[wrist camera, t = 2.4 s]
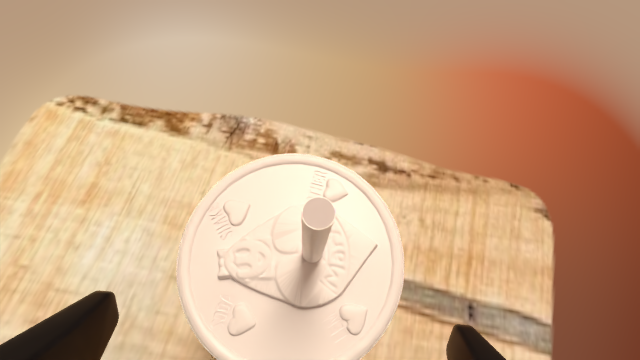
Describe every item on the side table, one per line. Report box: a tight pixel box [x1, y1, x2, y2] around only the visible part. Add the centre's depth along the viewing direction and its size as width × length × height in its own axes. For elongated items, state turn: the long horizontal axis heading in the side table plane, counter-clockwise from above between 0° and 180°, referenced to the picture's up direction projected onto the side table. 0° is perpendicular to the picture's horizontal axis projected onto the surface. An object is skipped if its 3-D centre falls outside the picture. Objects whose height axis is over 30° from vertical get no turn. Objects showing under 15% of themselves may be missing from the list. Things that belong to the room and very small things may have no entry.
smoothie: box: [177, 153, 404, 360], centre depth 12 cm, size 6×6×14 cm
